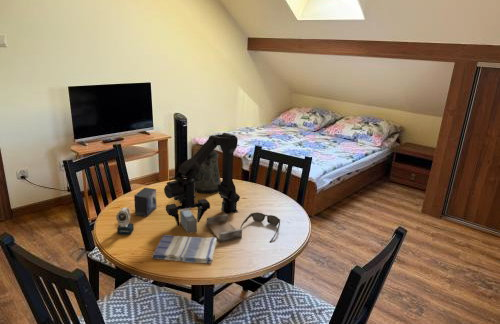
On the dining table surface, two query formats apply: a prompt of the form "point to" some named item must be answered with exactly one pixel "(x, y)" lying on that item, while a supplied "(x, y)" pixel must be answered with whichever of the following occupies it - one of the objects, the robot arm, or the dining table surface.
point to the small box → (145, 202)
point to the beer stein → (208, 175)
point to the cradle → (223, 228)
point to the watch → (124, 222)
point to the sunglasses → (260, 217)
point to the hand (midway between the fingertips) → (188, 223)
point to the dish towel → (186, 249)
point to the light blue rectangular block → (188, 221)
